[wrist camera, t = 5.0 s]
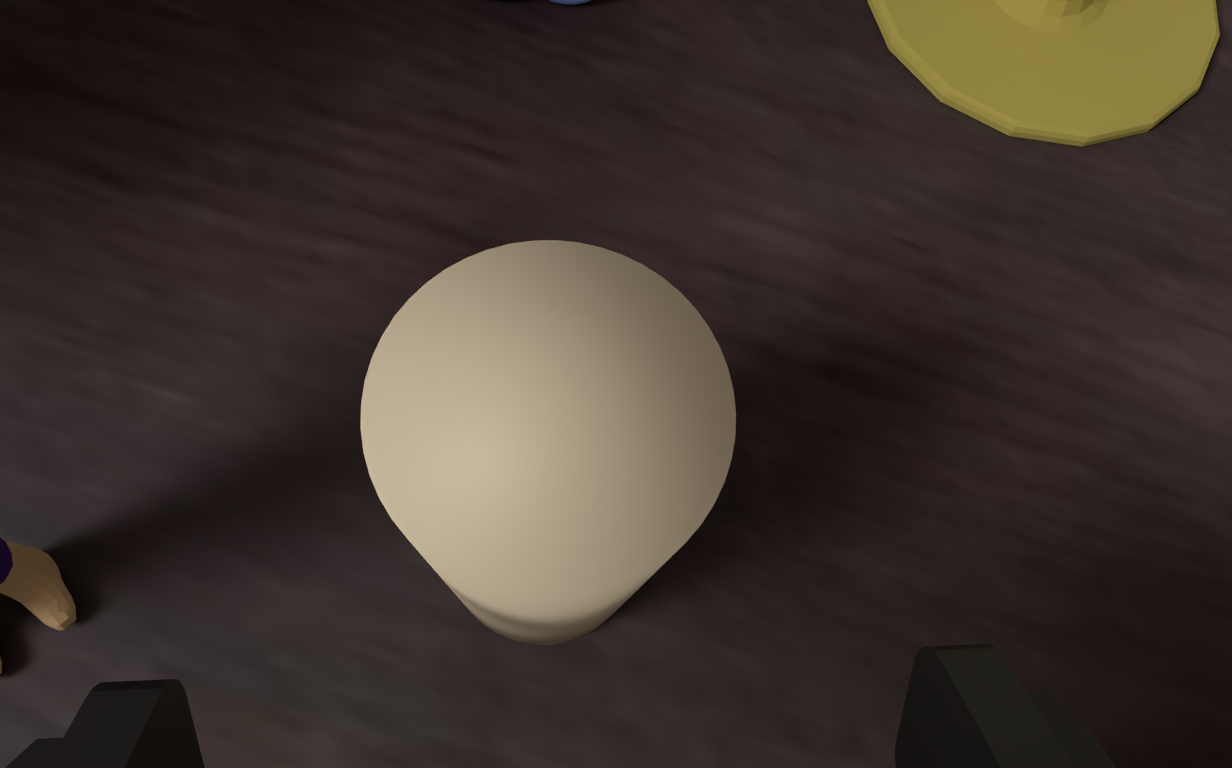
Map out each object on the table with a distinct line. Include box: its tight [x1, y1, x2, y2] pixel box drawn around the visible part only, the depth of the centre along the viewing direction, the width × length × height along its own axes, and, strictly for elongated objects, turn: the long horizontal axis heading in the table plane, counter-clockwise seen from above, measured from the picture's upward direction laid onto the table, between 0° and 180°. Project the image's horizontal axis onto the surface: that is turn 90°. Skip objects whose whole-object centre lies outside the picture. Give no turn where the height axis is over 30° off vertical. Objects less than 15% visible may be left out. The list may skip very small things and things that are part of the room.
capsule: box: [360, 240, 736, 645], centre depth 14 cm, size 4×4×10 cm
